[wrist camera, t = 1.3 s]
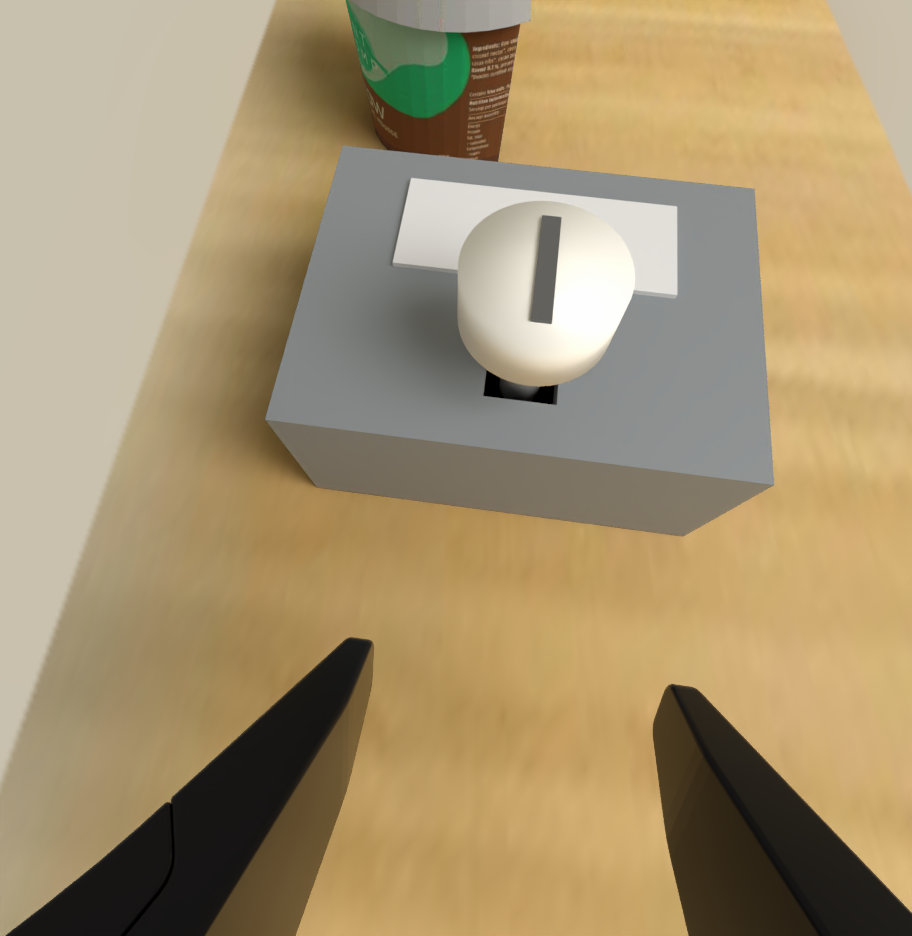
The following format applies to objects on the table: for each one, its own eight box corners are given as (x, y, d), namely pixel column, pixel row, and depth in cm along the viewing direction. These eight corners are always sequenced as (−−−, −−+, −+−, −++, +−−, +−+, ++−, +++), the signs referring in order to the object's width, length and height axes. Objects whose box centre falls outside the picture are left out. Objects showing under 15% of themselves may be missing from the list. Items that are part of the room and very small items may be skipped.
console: (683, 536, 23) (777, 482, 16) (317, 487, 24) (262, 417, 17) (681, 303, 27) (757, 184, 21) (368, 267, 28) (341, 140, 21)
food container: (317, 83, 33) (262, -152, 23) (408, 49, 34) (390, -189, 24) (413, 223, 29) (394, 12, 20) (511, 180, 30) (537, -40, 21)
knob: (577, 451, 18) (634, 353, 13) (448, 434, 18) (445, 330, 13) (585, 340, 20) (638, 207, 14) (465, 325, 20) (470, 189, 14)
